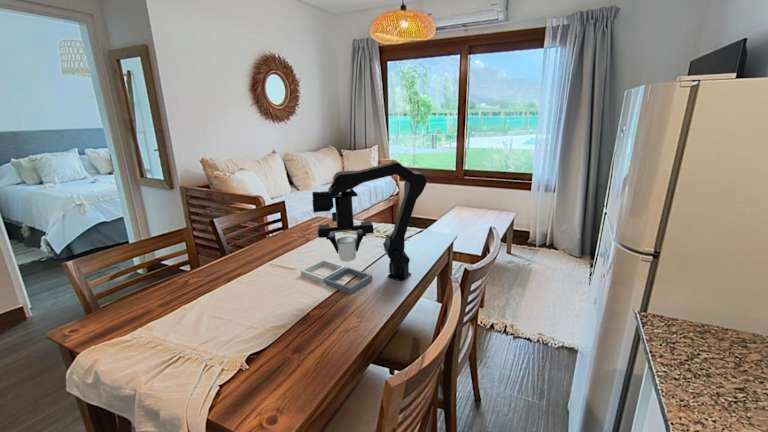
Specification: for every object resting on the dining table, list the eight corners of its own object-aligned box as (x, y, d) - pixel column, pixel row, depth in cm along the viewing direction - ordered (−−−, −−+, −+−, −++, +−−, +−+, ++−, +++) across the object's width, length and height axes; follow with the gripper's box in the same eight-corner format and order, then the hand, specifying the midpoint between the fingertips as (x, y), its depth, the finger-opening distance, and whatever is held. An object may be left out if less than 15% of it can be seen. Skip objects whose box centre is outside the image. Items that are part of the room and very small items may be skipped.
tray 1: (345, 271, 134) (345, 266, 133) (323, 283, 124) (322, 278, 124) (324, 263, 140) (323, 259, 140) (301, 275, 131) (300, 270, 131)
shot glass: (356, 262, 119) (355, 243, 117) (336, 262, 119) (335, 243, 117) (358, 253, 125) (357, 235, 123) (339, 254, 126) (338, 236, 123)
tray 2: (372, 279, 126) (372, 274, 126) (350, 294, 117) (350, 288, 116) (347, 271, 133) (347, 267, 132) (325, 284, 124) (324, 279, 123)
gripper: (369, 201, 126) (371, 241, 130) (316, 205, 123) (320, 245, 128) (372, 209, 115) (374, 253, 120) (315, 214, 113) (320, 258, 117)
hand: (347, 252), depth 121 cm, fingers closed on shot glass, 6 cm apart
